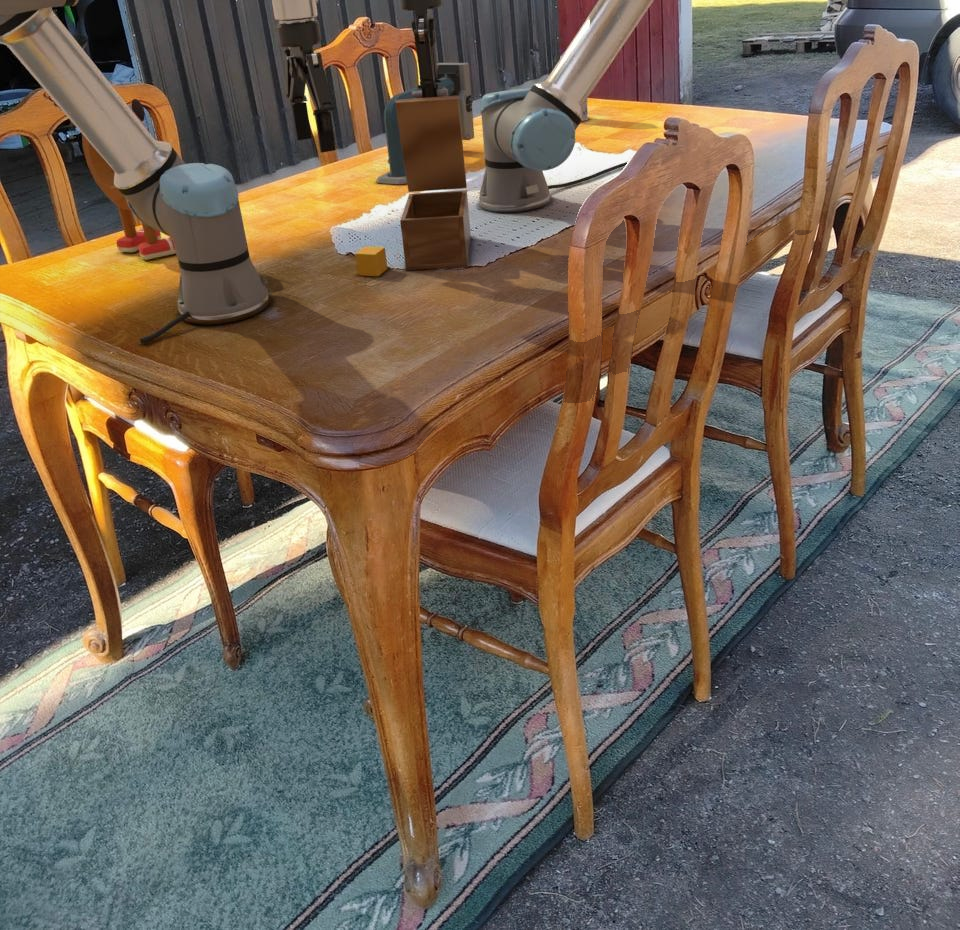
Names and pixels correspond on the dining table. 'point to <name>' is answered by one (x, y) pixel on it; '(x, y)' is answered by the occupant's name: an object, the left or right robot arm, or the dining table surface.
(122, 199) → the toy
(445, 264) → the chest
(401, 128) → the lid
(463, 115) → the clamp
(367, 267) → the block
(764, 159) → the dining table surface
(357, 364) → the dining table surface
